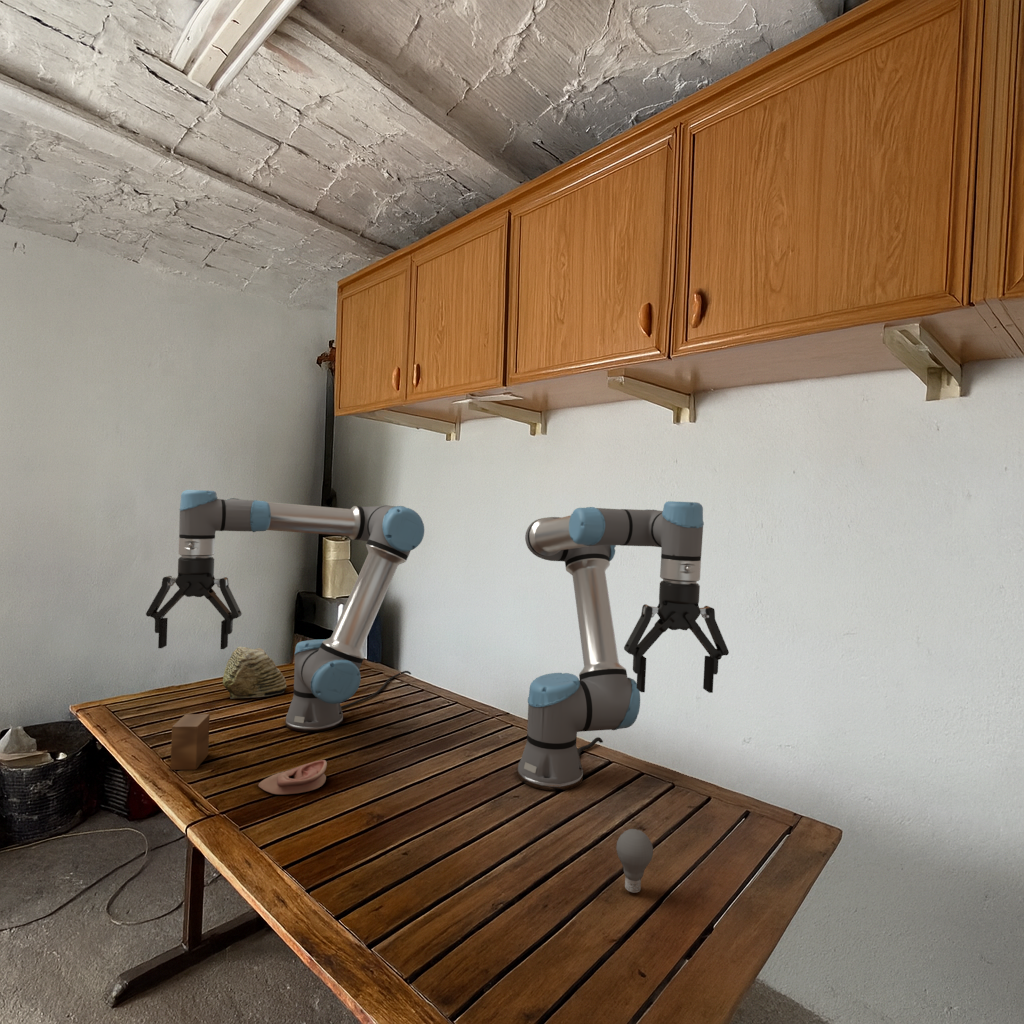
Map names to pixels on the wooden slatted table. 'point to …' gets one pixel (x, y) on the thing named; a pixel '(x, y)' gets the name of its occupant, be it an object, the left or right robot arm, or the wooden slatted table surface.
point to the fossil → (252, 674)
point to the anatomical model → (296, 779)
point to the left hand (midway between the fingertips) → (193, 647)
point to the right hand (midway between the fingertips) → (674, 690)
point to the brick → (190, 741)
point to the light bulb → (634, 857)
